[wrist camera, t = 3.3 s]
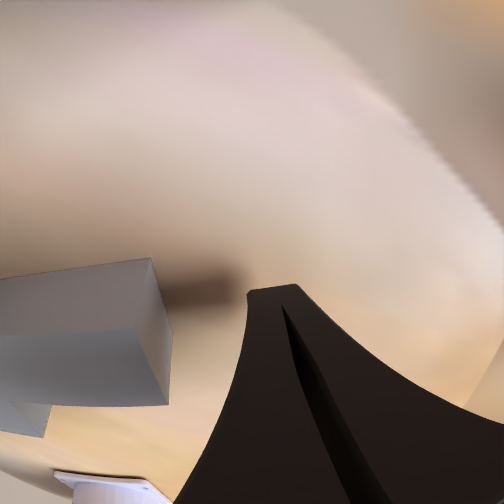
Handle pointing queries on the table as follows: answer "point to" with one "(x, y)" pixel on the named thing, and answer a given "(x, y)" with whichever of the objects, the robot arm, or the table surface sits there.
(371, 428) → the robot arm
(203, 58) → the table surface
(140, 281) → the t block
